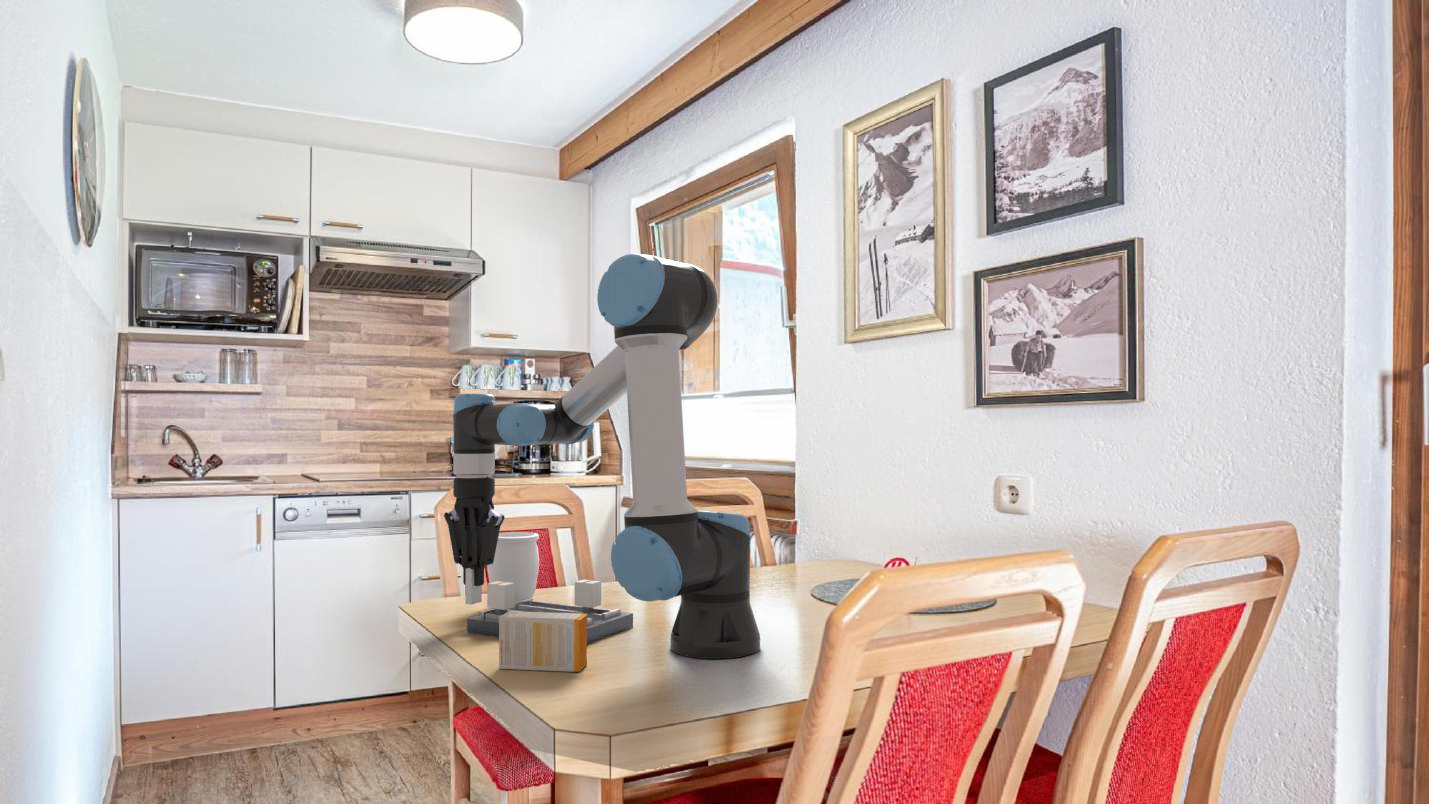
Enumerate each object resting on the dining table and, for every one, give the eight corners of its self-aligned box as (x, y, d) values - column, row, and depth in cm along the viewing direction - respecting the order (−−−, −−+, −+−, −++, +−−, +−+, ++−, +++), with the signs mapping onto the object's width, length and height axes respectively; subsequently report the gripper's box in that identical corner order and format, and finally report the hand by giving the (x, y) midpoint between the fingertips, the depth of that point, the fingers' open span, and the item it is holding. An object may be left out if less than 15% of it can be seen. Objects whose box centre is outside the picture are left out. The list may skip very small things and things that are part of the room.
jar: (485, 604, 194) (485, 532, 194) (535, 601, 197) (536, 530, 197) (488, 614, 184) (489, 538, 184) (541, 611, 187) (542, 536, 187)
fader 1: (514, 613, 171) (514, 582, 171) (504, 616, 169) (504, 584, 169) (497, 611, 173) (497, 580, 173) (487, 614, 170) (487, 582, 170)
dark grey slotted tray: (633, 626, 173) (633, 607, 173) (574, 647, 157) (574, 627, 157) (530, 614, 184) (530, 596, 185) (466, 632, 169) (467, 613, 169)
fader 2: (601, 611, 173) (601, 580, 173) (592, 614, 170) (592, 583, 170) (583, 609, 175) (583, 578, 175) (574, 612, 172) (574, 581, 172)
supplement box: (588, 612, 147) (509, 609, 149) (579, 619, 142) (497, 615, 144) (588, 665, 147) (508, 661, 149) (579, 674, 142) (497, 669, 144)
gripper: (514, 476, 174) (514, 602, 174) (461, 474, 181) (461, 596, 180) (487, 478, 168) (486, 609, 167) (433, 476, 174) (432, 603, 174)
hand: (473, 602), depth 174 cm, fingers closed
